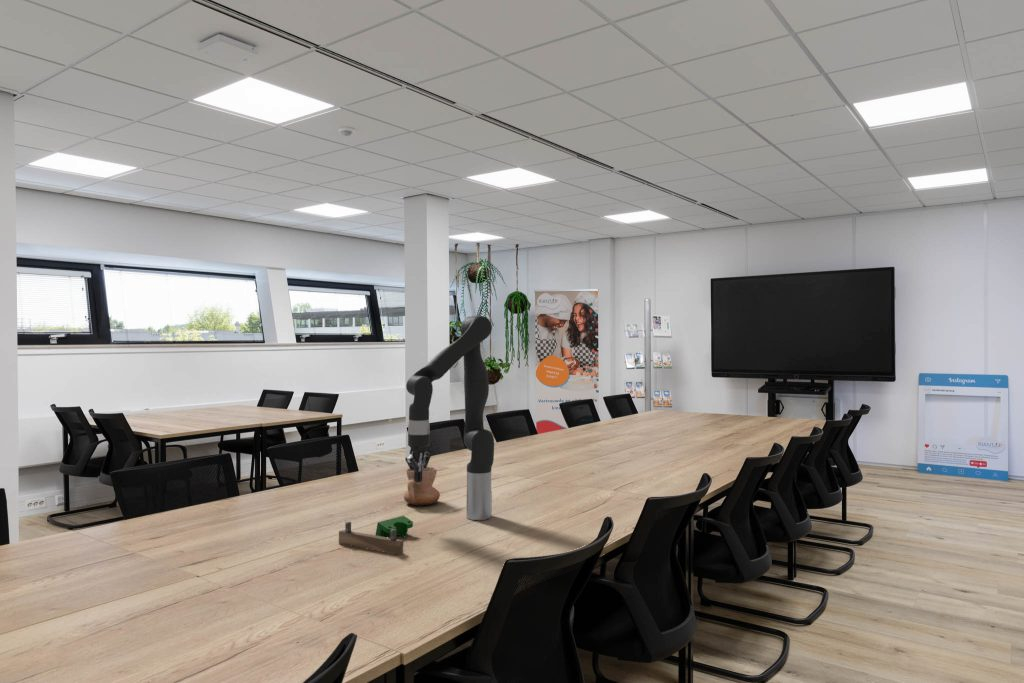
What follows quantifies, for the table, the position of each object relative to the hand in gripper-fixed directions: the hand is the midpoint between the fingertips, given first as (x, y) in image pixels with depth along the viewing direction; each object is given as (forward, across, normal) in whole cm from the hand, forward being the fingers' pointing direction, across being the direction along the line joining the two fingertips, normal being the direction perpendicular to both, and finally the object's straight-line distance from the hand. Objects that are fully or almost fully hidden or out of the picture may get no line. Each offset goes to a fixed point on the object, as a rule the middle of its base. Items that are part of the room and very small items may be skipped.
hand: (418, 481), depth 227 cm
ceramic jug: (+16, +29, +19) cm, 38 cm away
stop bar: (+16, -26, 0) cm, 31 cm away
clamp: (+17, -13, 0) cm, 21 cm away
